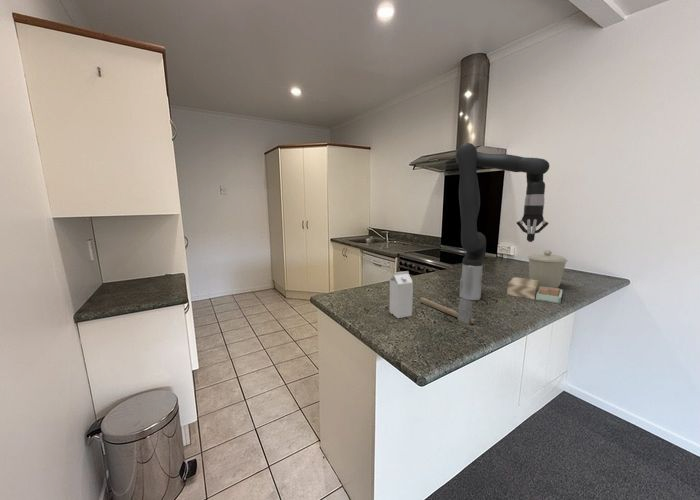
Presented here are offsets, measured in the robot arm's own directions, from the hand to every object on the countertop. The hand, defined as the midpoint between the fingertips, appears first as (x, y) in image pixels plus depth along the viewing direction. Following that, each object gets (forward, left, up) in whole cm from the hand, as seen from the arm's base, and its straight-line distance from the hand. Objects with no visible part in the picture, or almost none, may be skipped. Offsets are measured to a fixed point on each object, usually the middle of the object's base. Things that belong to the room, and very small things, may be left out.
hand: (530, 241), depth 128 cm
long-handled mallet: (-25, -39, -29) cm, 55 cm away
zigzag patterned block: (-2, +12, -29) cm, 31 cm away
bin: (+9, +12, -29) cm, 32 cm away
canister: (+5, +32, -29) cm, 44 cm away
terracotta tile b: (+10, +16, -25) cm, 32 cm away
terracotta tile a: (+5, +10, -26) cm, 29 cm away
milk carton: (-39, -53, -29) cm, 72 cm away
